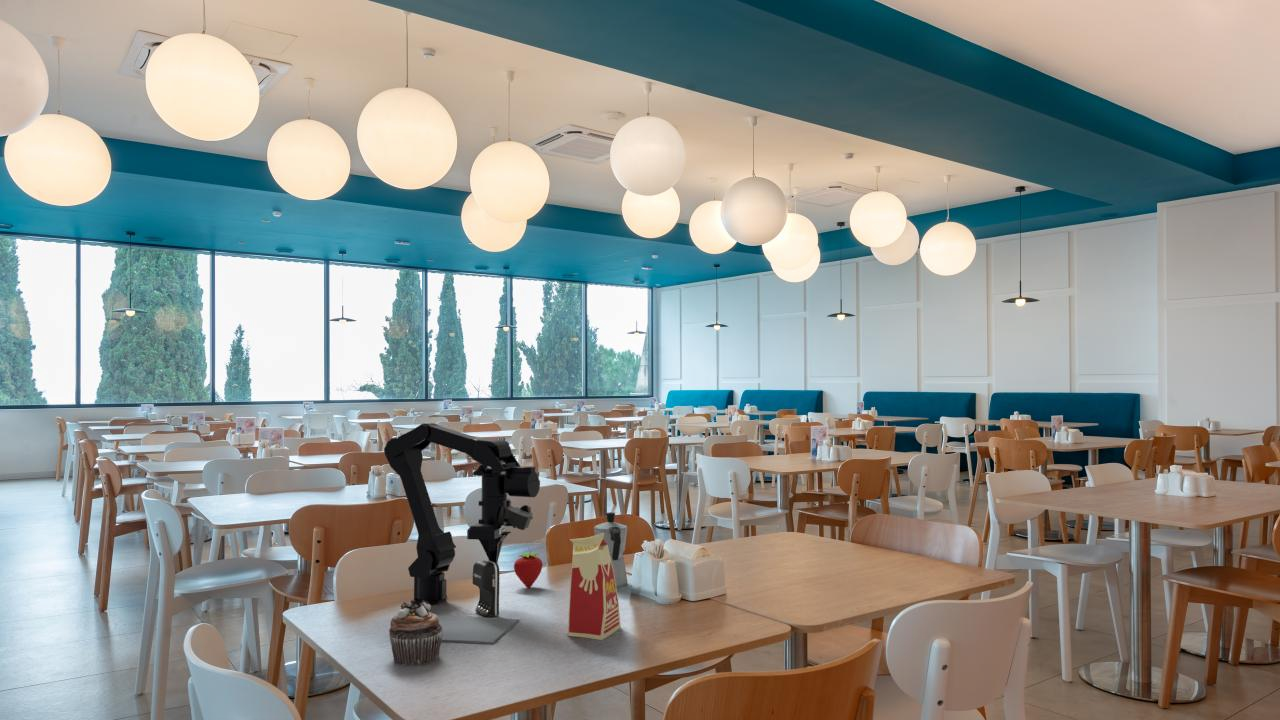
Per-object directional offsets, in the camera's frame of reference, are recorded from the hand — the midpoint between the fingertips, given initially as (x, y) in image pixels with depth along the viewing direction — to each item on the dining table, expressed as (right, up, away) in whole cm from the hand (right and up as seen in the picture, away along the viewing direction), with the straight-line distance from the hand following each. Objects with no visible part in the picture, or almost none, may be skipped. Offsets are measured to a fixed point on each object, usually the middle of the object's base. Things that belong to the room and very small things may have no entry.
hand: (494, 564), depth 182 cm
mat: (-3, -9, -18) cm, 20 cm away
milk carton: (+23, -9, -19) cm, 31 cm away
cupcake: (-8, -8, -35) cm, 37 cm away
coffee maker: (+26, -11, +21) cm, 35 cm away
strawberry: (+5, -11, +18) cm, 22 cm away
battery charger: (-1, -10, -6) cm, 11 cm away
